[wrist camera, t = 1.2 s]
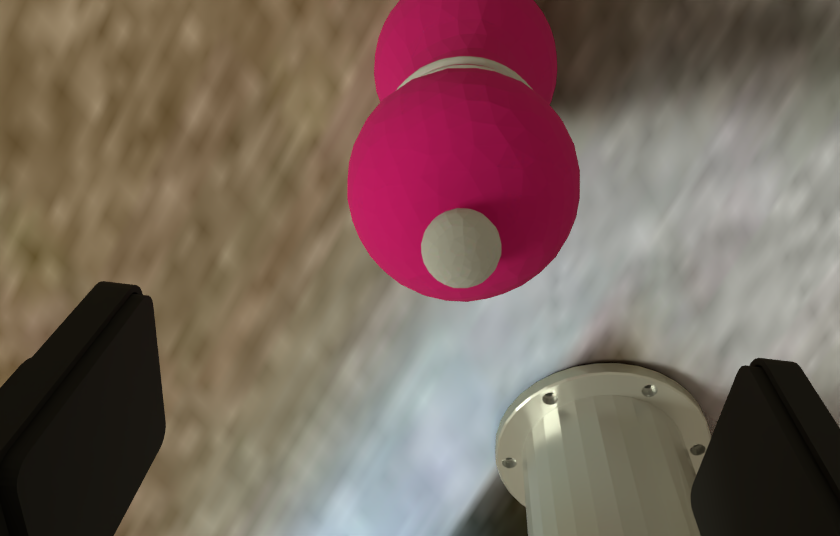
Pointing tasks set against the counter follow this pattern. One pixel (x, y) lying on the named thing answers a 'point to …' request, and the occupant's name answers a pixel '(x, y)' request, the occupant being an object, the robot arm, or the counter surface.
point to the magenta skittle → (464, 150)
